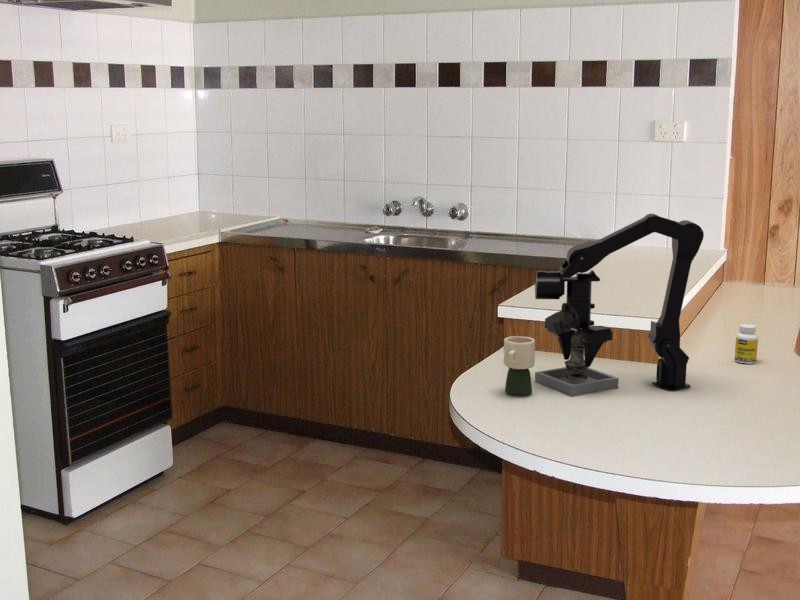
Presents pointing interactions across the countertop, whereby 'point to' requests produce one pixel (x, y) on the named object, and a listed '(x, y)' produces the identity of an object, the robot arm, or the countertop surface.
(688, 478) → the countertop surface
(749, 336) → the supplement bottle
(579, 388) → the charcoal tray
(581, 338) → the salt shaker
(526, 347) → the character mug
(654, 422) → the countertop surface
